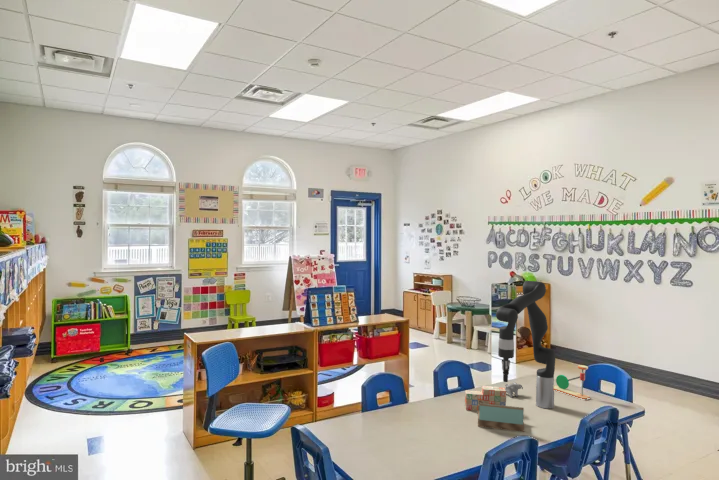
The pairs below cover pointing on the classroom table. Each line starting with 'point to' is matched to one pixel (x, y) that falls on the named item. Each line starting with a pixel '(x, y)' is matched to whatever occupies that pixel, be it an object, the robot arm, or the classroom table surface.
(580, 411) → the classroom table surface
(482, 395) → the stack of blocks
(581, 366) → the crank mechanism
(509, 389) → the gray elephant figurine
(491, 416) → the tailgate
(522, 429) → the cart bed
